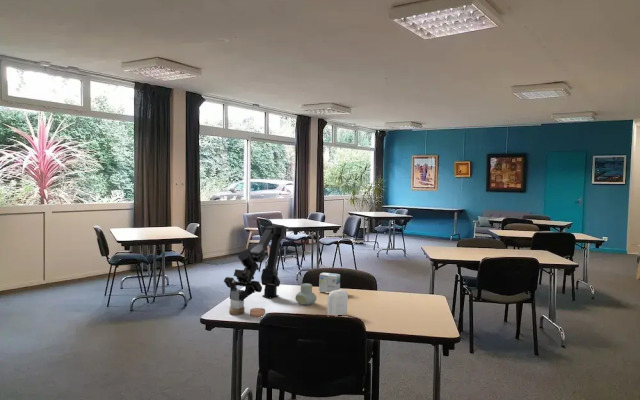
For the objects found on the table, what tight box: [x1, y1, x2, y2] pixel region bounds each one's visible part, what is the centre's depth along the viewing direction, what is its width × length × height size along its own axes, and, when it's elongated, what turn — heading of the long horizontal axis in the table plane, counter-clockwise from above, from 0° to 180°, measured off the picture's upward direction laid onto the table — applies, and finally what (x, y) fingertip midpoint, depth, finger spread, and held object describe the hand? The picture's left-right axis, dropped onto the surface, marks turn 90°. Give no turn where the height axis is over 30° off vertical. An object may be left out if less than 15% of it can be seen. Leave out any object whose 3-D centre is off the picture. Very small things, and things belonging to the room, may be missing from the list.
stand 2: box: [249, 307, 266, 319], centre depth 203 cm, size 7×7×2 cm
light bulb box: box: [318, 272, 341, 292], centre depth 249 cm, size 11×7×11 cm, turn 69°
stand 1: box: [228, 306, 246, 316], centre depth 205 cm, size 7×7×2 cm
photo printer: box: [326, 288, 349, 316], centre depth 208 cm, size 10×4×12 cm, turn 123°
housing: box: [229, 288, 245, 310], centre depth 205 cm, size 4×4×8 cm
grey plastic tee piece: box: [295, 283, 317, 306], centre depth 225 cm, size 11×8×10 cm
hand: (235, 299), depth 204 cm, fingers open, 6 cm apart
